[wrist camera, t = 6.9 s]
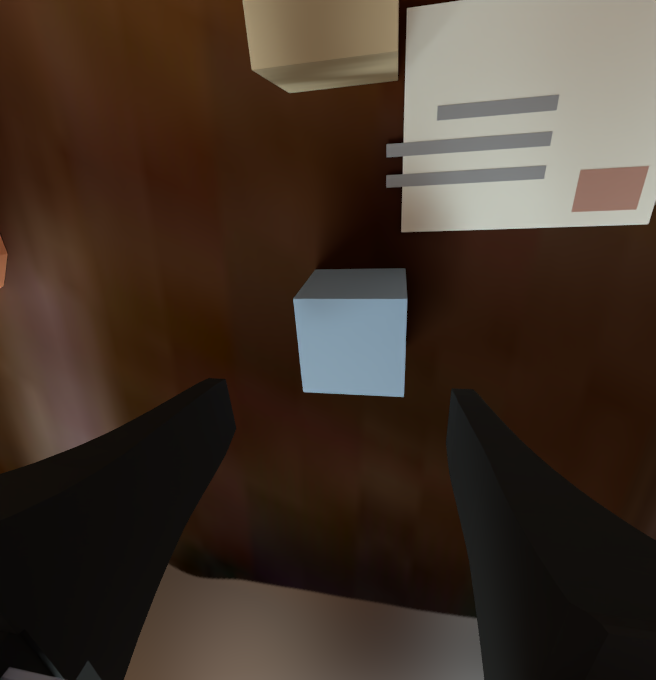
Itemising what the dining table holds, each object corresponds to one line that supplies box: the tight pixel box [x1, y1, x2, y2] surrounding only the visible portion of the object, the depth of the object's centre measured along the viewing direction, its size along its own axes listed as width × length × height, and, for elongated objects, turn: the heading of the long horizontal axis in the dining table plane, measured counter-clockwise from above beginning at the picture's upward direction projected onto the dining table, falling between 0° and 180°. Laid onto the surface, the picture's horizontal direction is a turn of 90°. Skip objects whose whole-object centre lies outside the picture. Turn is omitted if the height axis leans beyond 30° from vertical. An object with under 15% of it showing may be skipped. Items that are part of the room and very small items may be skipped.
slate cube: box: [293, 268, 407, 397], centre depth 17 cm, size 4×4×4 cm
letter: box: [386, 0, 656, 232], centre depth 14 cm, size 11×8×1 cm
